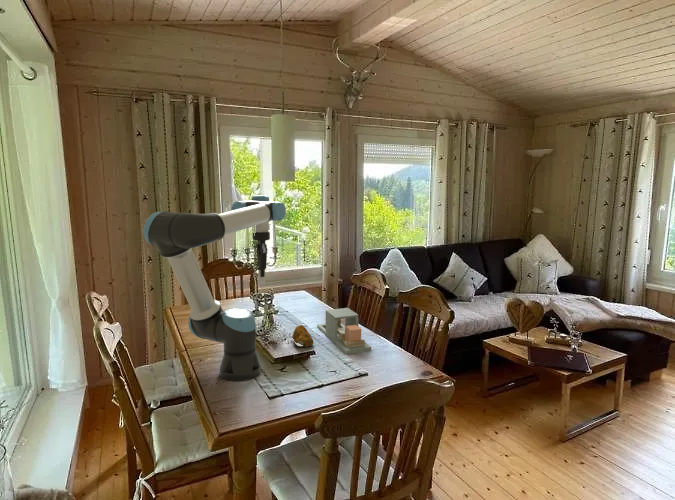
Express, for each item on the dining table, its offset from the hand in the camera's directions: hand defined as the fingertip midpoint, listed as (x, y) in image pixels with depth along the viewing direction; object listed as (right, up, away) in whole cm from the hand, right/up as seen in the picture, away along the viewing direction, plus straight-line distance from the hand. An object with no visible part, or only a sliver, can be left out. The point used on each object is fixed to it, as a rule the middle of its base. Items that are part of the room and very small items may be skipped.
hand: (261, 283), depth 189 cm
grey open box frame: (+37, -25, +5) cm, 45 cm away
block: (+40, -25, -3) cm, 47 cm away
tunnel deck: (+36, -26, +8) cm, 45 cm away
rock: (+17, -27, 0) cm, 32 cm away
